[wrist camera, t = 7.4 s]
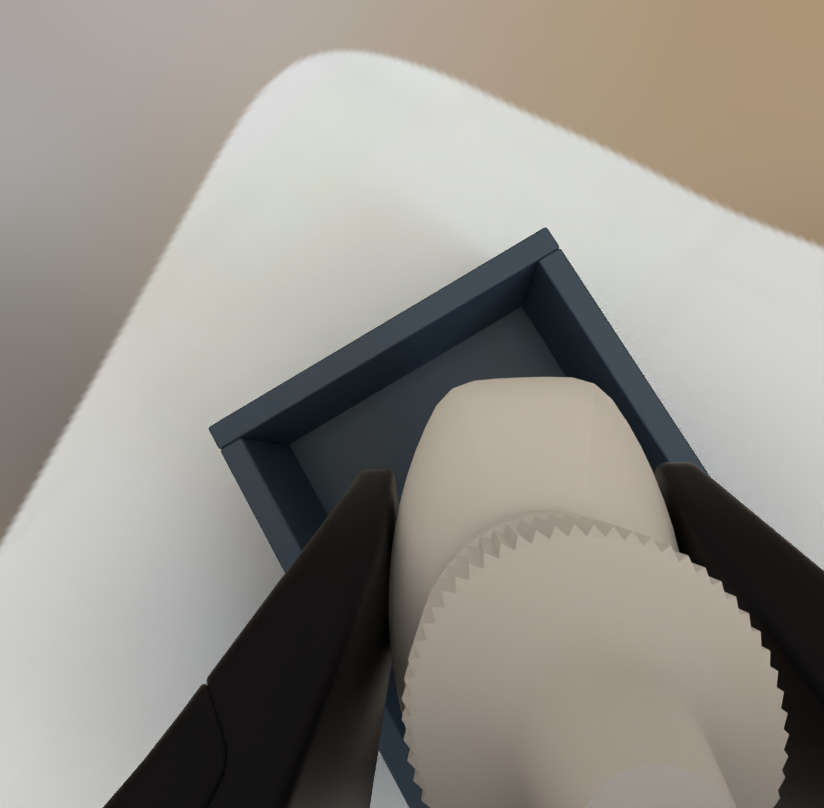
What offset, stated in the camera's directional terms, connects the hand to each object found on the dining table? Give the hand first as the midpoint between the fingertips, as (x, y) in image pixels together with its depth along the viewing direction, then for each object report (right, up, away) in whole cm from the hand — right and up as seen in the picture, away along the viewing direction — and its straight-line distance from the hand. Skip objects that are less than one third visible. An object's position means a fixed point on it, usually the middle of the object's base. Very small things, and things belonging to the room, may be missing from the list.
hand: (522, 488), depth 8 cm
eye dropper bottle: (+1, -2, +6) cm, 7 cm away
